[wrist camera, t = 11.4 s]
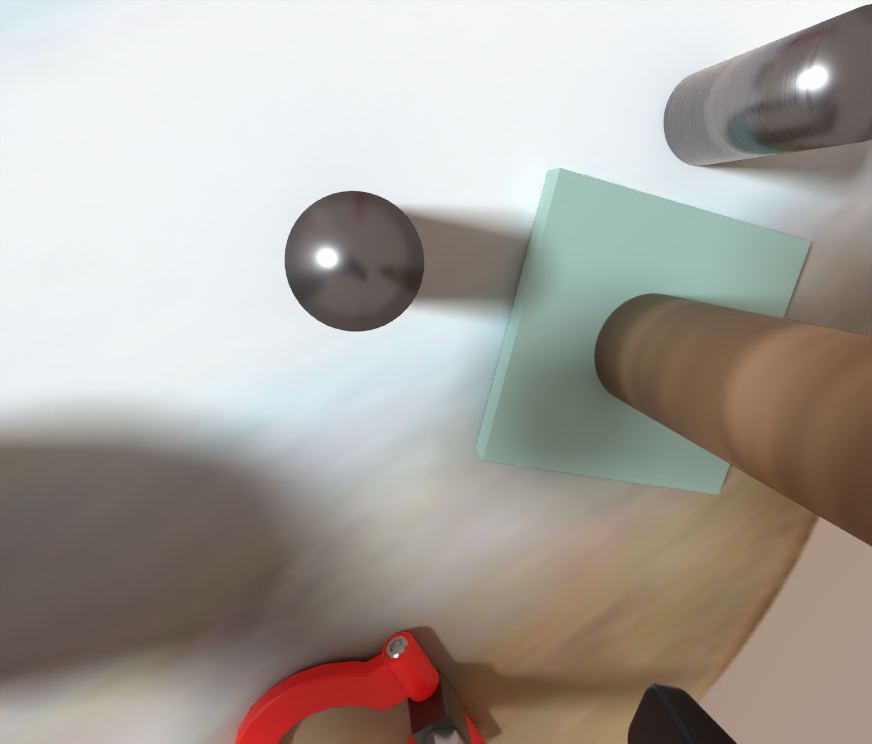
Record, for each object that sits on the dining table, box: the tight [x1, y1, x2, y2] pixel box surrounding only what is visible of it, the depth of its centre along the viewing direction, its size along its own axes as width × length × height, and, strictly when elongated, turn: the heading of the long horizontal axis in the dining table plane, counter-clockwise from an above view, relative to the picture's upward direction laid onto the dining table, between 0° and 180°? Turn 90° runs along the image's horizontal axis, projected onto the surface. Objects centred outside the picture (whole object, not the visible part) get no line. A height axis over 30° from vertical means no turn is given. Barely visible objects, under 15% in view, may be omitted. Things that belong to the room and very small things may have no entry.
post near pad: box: [664, 4, 872, 166], centre depth 16 cm, size 3×3×6 cm
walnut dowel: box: [594, 293, 872, 546], centre depth 14 cm, size 4×4×13 cm
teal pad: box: [475, 168, 811, 495], centre depth 20 cm, size 10×10×1 cm
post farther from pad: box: [285, 191, 424, 331], centre depth 15 cm, size 3×3×6 cm
